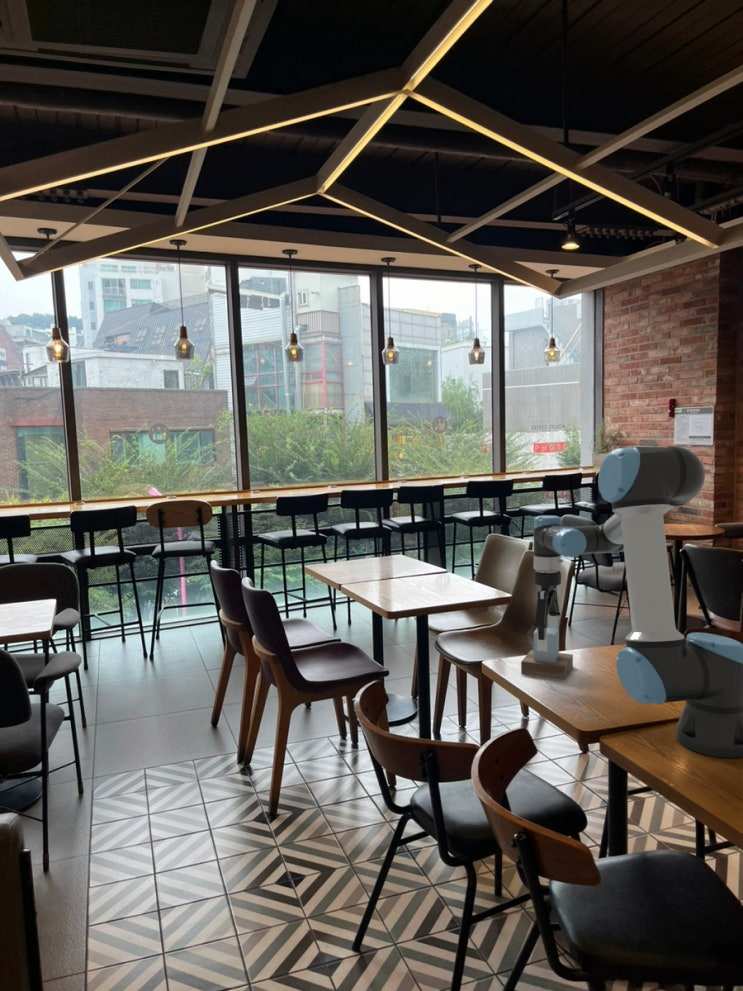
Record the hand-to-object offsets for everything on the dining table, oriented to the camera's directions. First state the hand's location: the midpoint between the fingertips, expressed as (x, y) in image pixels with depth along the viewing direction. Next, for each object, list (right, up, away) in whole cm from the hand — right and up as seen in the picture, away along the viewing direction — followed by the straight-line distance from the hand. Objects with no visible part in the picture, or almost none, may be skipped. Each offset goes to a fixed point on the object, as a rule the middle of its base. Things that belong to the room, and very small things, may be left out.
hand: (547, 644), depth 197 cm
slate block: (0, -4, 0) cm, 4 cm away
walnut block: (0, -8, +1) cm, 8 cm away
